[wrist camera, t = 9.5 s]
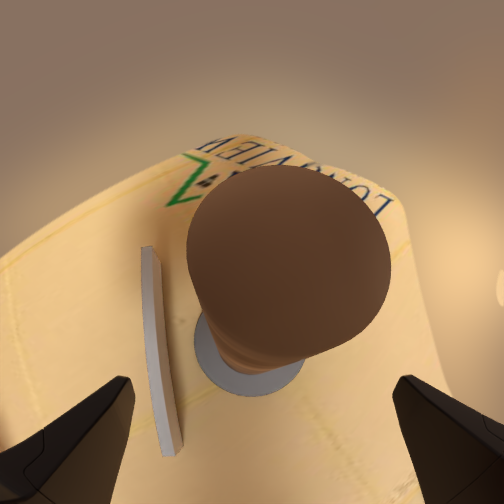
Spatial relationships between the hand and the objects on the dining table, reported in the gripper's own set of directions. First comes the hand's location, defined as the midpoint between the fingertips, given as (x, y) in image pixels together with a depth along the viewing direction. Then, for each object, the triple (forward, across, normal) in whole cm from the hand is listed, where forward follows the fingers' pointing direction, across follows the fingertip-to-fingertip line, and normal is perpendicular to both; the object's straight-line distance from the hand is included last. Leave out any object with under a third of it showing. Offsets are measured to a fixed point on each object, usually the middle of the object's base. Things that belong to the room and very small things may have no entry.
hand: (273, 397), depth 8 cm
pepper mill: (+10, 0, +5) cm, 11 cm away
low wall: (+9, +6, +6) cm, 13 cm away
